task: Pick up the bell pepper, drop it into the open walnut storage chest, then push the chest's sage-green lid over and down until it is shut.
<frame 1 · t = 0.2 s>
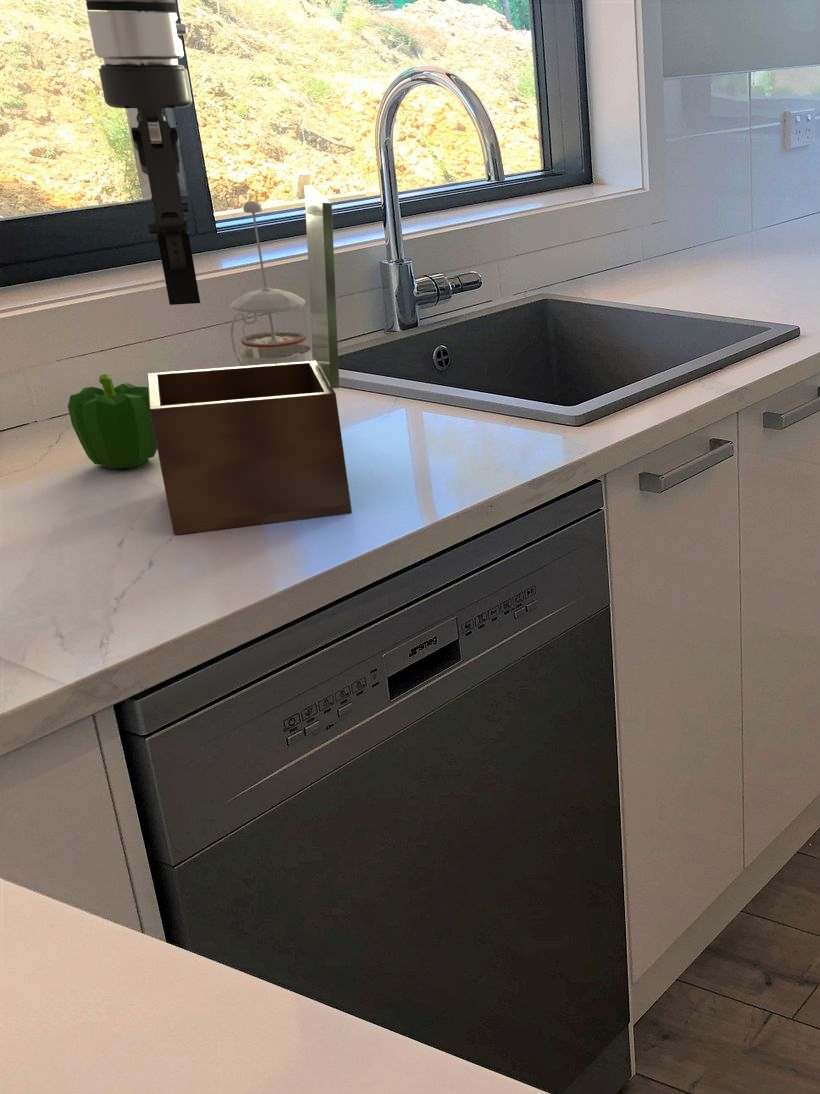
hand: (182, 292, 139), 19 cm above the countertop, tool pointing down, fingers open, 13 cm apart
bell pepper: (124, 465, 149), on the countertop
chest: (258, 501, 138), on the countertop
lid: (321, 284, 133), point 21 cm above the countertop, hinge at 95.0°
french press: (282, 419, 166), on the countertop
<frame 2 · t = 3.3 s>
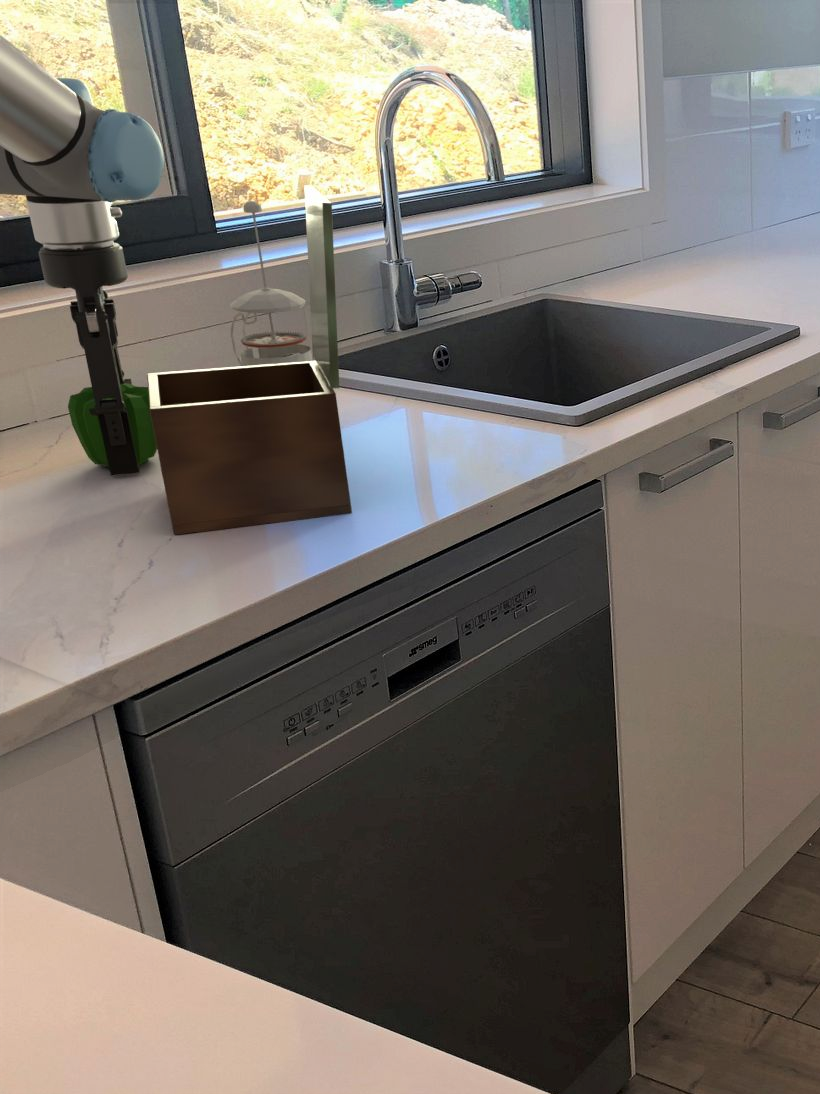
hand: (124, 461, 149), 0 cm above the countertop, tool pointing down, fingers closed on bell pepper, 8 cm apart
bell pepper: (124, 465, 149), on the countertop, touching gripper
everything else where it was.
when the fingers open (8 cm above the countertop, at t = 10.5 s): bell pepper drops 6 cm, point 1 cm above the countertop.
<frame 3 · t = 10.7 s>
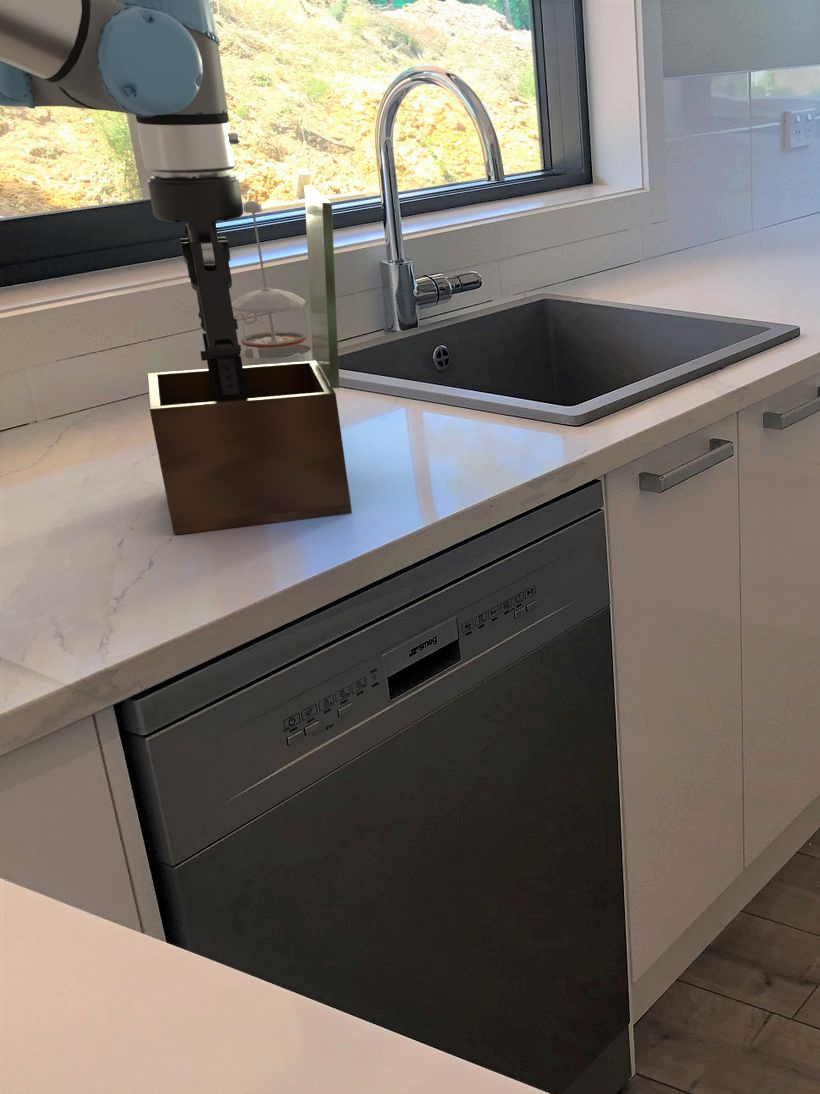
hand: (232, 412, 134), 9 cm above the countertop, tool pointing down, fingers open, 11 cm apart
bell pepper: (245, 486, 138), point 1 cm above the countertop, touching gripper
everything else where it was.
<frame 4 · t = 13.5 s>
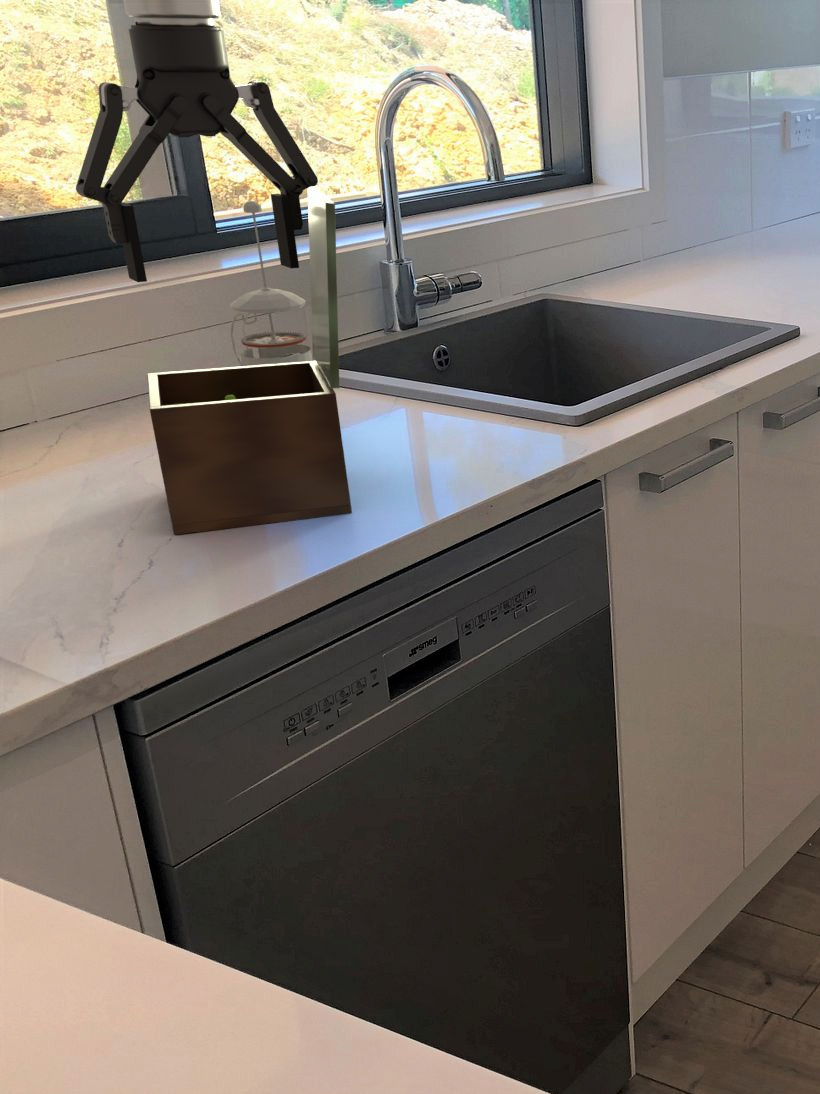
hand: (216, 273, 129), 22 cm above the countertop, tool pointing down, fingers open, 13 cm apart
bell pepper: (246, 492, 138), point 1 cm above the countertop, touching chest
lid: (323, 284, 133), point 21 cm above the countertop, hinge at 95.9°
everything else where it was.
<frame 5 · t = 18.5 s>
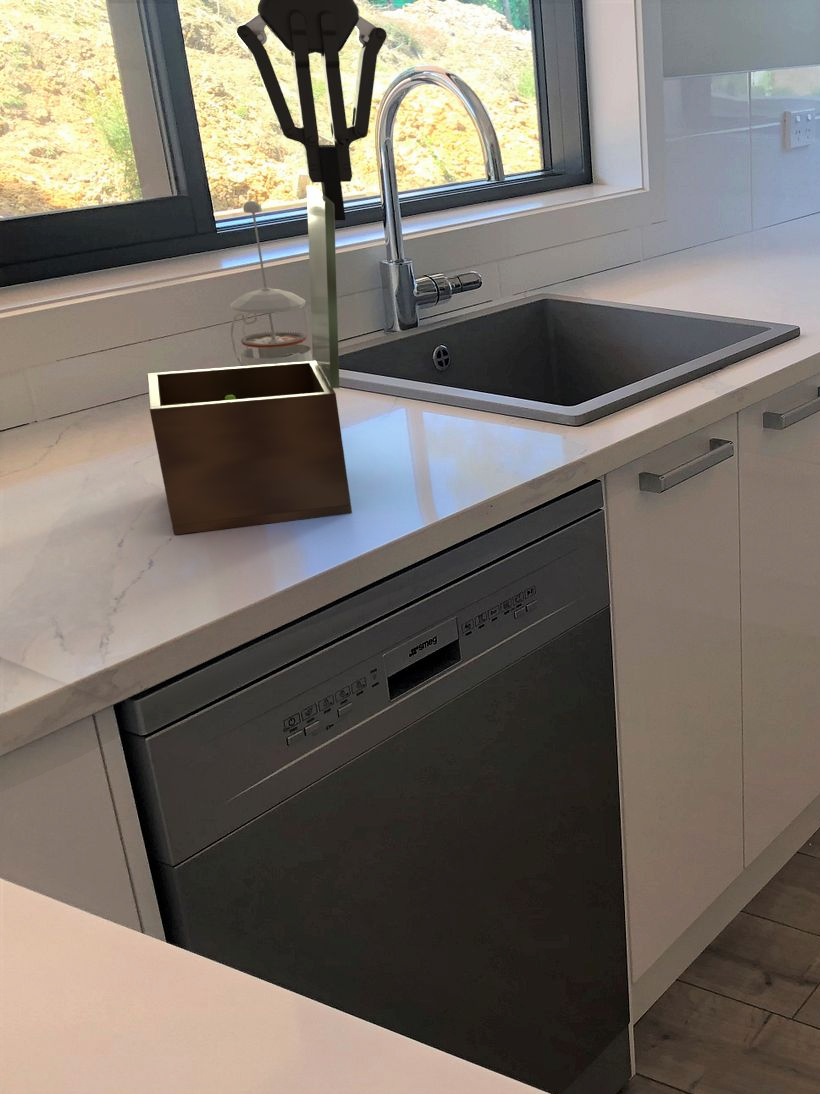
hand: (335, 218, 131), 27 cm above the countertop, tool pointing down, fingers closed
lid: (322, 284, 133), point 21 cm above the countertop, hinge at 95.7°, touching gripper
everything else where it was.
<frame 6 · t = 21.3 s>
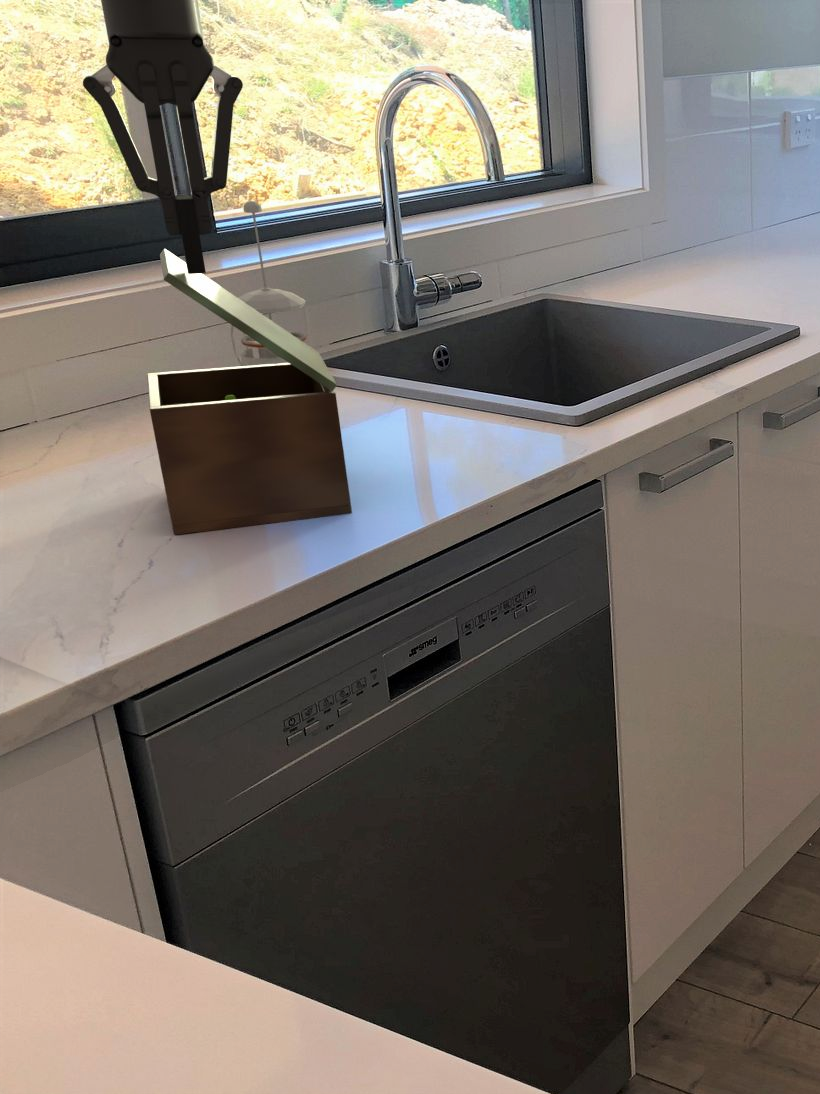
hand: (196, 271, 128), 23 cm above the countertop, tool pointing down, fingers closed
lid: (247, 319, 131), point 18 cm above the countertop, hinge at 41.3°, touching gripper
everything else where it was.
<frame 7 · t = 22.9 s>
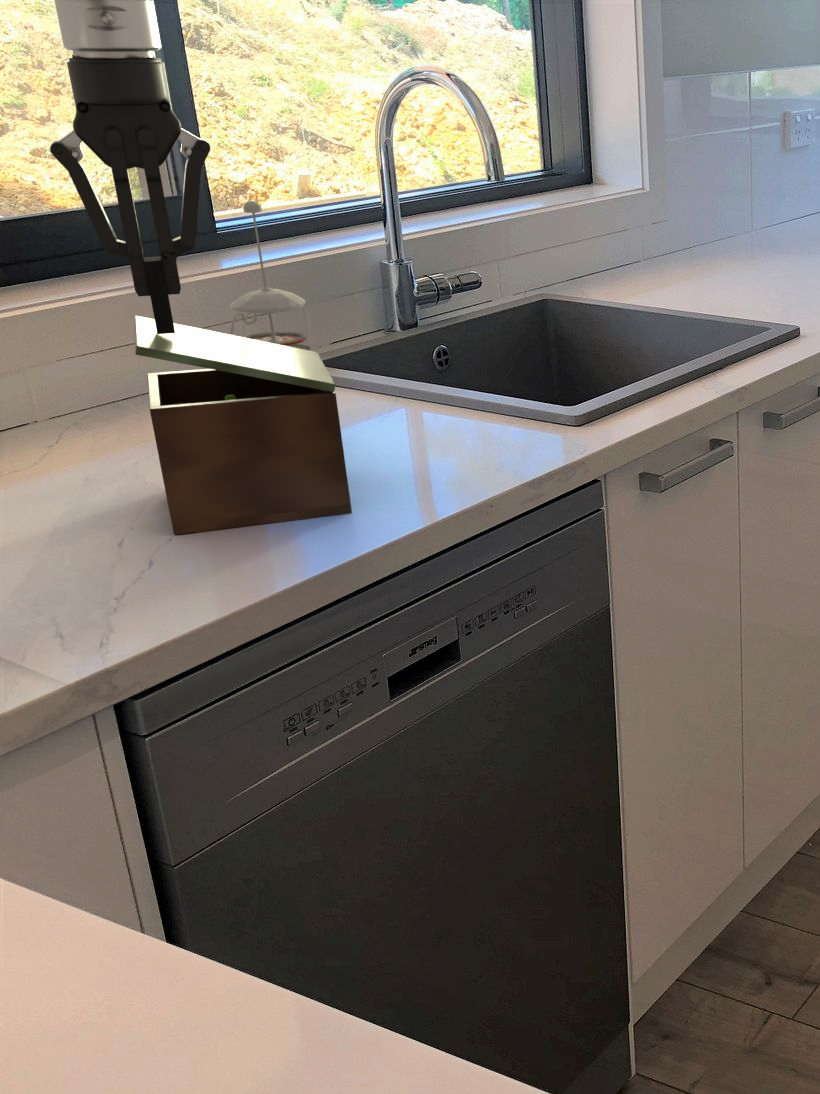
hand: (165, 330, 129), 17 cm above the countertop, tool pointing down, fingers closed
lid: (233, 353, 132), point 15 cm above the countertop, hinge at 16.8°, touching gripper
everything else where it was.
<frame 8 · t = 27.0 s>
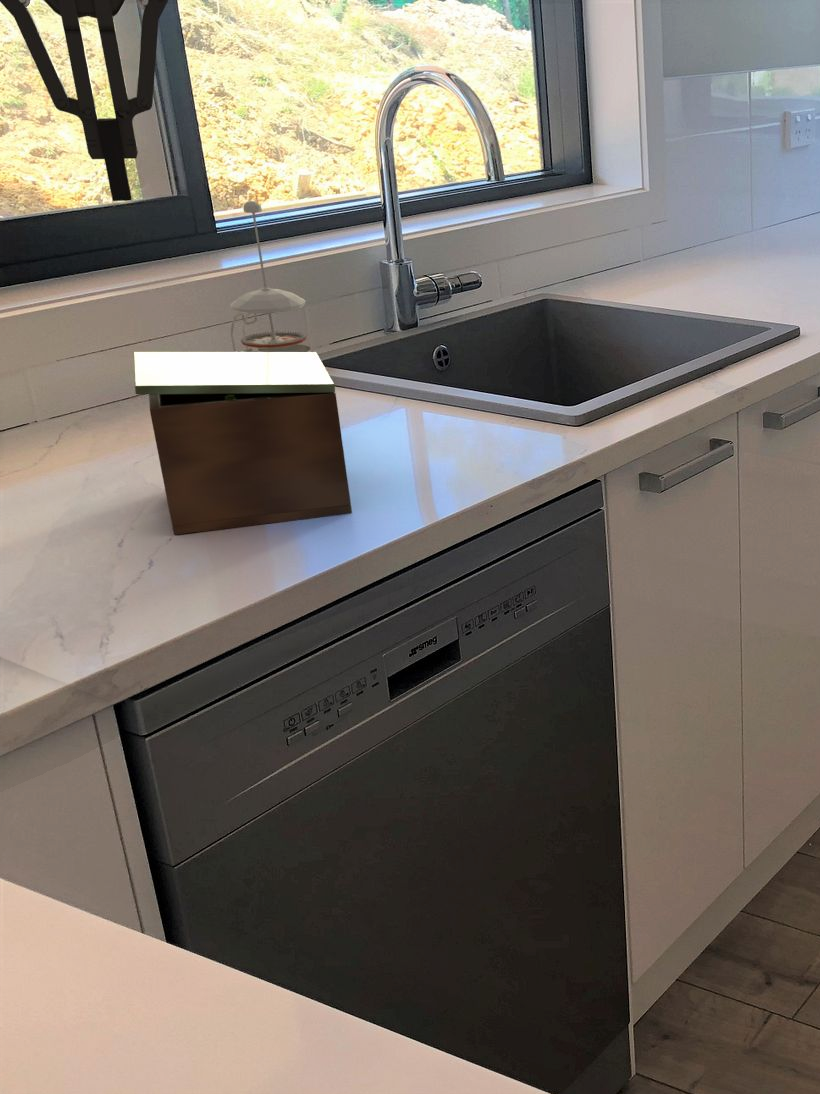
hand: (122, 198, 121), 29 cm above the countertop, tool pointing down, fingers closed
lid: (232, 371, 132), point 13 cm above the countertop, hinge at 4.6°
everything else where it was.
at the end: bell pepper inside the target area in the chest (1.4 cm from its centre), point 0.7 cm above the chest's base; lid at +5° (first picture: +95°); the gripper is holding nothing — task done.
